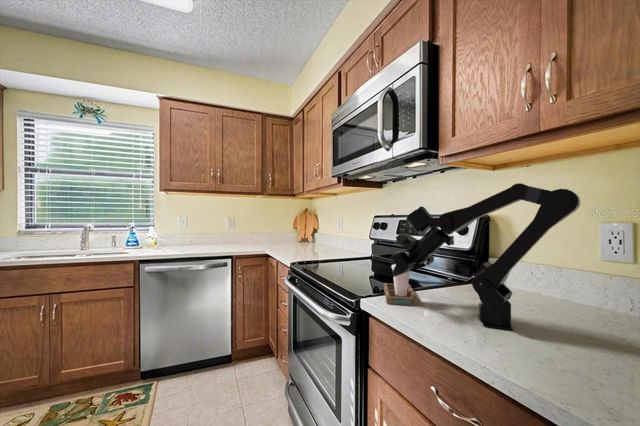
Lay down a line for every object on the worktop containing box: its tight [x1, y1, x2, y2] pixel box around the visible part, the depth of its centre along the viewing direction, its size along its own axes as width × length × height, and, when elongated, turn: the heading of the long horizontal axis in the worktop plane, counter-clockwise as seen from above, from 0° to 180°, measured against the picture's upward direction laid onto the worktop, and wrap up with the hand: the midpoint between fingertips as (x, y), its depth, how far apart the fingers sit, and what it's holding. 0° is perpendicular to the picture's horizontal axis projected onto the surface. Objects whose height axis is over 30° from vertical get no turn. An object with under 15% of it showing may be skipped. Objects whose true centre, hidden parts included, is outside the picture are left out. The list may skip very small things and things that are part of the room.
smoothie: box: [391, 263, 411, 296], centre depth 93 cm, size 6×6×14 cm
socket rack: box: [383, 282, 419, 307], centre depth 98 cm, size 18×10×2 cm, turn 170°
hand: (397, 274), depth 94 cm, fingers closed on smoothie, 6 cm apart
